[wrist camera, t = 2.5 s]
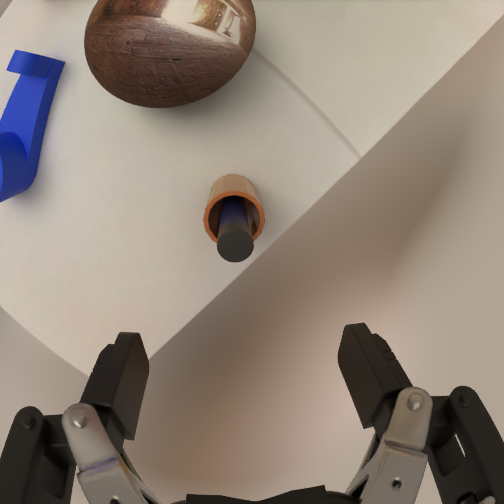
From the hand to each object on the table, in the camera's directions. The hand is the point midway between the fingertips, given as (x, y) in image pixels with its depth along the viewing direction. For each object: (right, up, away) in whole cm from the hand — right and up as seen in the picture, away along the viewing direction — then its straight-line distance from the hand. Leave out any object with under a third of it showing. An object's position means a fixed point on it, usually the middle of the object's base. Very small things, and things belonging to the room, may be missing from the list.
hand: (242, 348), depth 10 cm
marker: (-2, +10, +22) cm, 24 cm away
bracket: (-30, +21, +15) cm, 39 cm away
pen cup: (-2, +10, +22) cm, 24 cm away
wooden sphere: (-7, +26, +14) cm, 31 cm away
